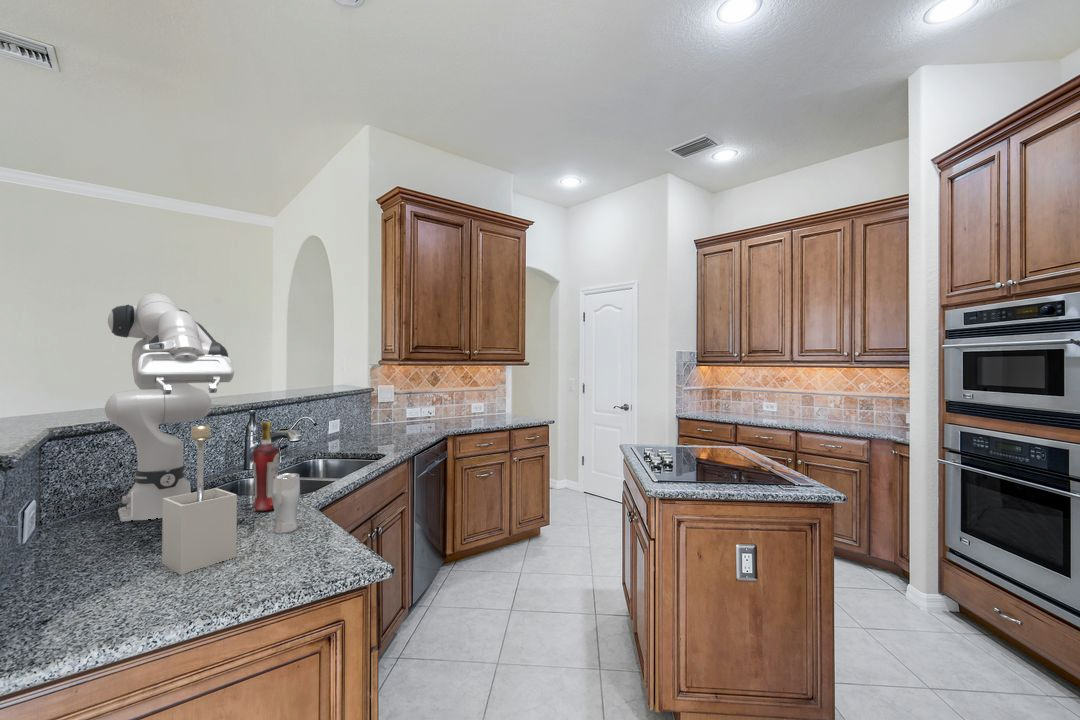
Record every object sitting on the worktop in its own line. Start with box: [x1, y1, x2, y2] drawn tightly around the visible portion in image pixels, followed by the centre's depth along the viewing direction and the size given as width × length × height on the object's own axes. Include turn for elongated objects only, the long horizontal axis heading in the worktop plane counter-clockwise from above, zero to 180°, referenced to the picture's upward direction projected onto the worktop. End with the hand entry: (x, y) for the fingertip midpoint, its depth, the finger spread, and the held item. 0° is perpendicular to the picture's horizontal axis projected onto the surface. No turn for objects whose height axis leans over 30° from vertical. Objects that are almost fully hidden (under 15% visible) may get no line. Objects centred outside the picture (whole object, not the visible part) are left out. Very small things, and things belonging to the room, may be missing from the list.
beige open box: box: [161, 487, 238, 576], centre depth 108 cm, size 11×11×15 cm
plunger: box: [183, 425, 214, 505], centre depth 108 cm, size 9×9×19 cm
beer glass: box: [272, 472, 301, 534], centre depth 128 cm, size 7×7×15 cm
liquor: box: [252, 421, 280, 512], centre depth 147 cm, size 7×7×28 cm
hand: (191, 392), depth 116 cm, fingers open, 8 cm apart
